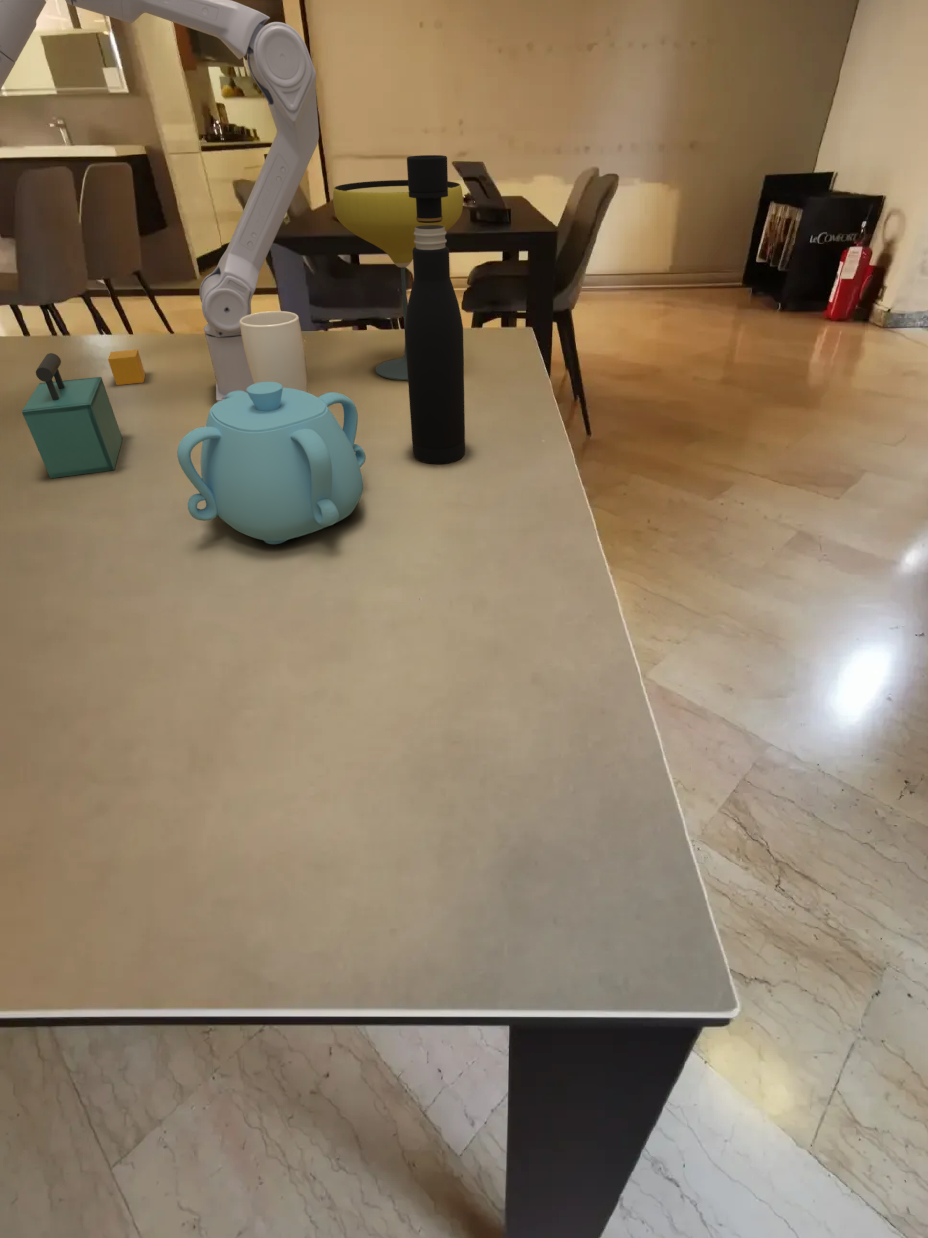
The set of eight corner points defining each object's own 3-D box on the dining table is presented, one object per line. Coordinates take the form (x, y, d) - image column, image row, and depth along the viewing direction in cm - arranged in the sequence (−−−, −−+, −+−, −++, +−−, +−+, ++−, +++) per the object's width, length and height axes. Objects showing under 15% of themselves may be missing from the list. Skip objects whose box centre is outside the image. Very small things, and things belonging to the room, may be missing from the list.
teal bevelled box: (90, 344, 80) (25, 350, 78) (77, 369, 72) (6, 376, 71) (122, 438, 87) (64, 445, 86) (114, 470, 80) (50, 478, 78)
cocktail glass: (339, 362, 111) (316, 184, 96) (438, 347, 117) (432, 177, 102) (374, 395, 98) (354, 195, 83) (484, 377, 104) (484, 187, 89)
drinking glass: (253, 448, 84) (225, 321, 75) (288, 429, 89) (266, 308, 79) (295, 458, 81) (272, 328, 72) (329, 438, 86) (311, 314, 77)
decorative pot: (178, 548, 65) (133, 412, 57) (252, 475, 78) (224, 355, 69) (334, 564, 62) (312, 424, 54) (386, 486, 75) (373, 362, 66)
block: (145, 374, 108) (137, 349, 105) (143, 382, 105) (135, 356, 102) (119, 377, 107) (110, 351, 104) (116, 385, 104) (107, 359, 101)
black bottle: (459, 466, 79) (452, 158, 60) (407, 462, 80) (384, 158, 62) (469, 444, 84) (466, 153, 65) (420, 441, 85) (403, 154, 66)
